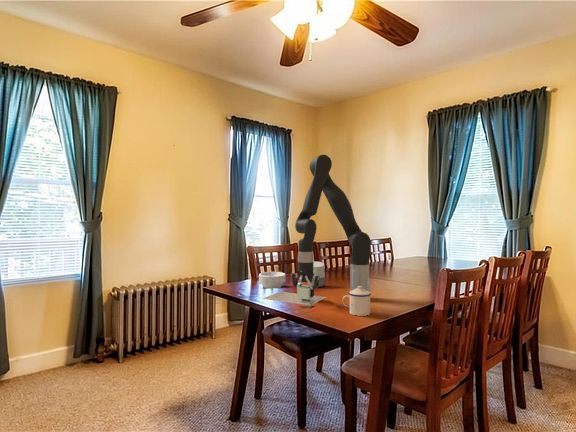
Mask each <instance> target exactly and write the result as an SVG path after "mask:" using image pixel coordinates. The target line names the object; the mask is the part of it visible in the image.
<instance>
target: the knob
mask: <svg viewBox="0 0 576 432" xmlns="http://www.w3.org/2000/svg"><path fill="white" fill-rule="evenodd" d="M310 290H311V289H310V286H309V285H304V284H302V285H301V286H300V287H296V293H297V298H301V299H308V300H309V299H311V298H313V297H314V296H315V295H314V296H313V297H310Z"/></svg>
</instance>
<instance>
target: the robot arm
mask: <svg viewBox="0 0 576 432" xmlns="http://www.w3.org/2000/svg"><path fill="white" fill-rule="evenodd" d="M331 159H332V158H331V157H330V156H328V155H327V154H319V155H317V156H316V157H314V158H313V159H312V160H311V161H310V162H309V171H310V172H311V175H312V177H313V179H312V181H311V183H310V186H309V189H308V190H307V192H306V195H305V198H304V202H303V204H302V205H303V206H302V209H301V211H300V213H299V214H298V216H297V218H296V219H295V220H296V221H295V225H294V226H295V227H294V228H295V231H296V232H297V233H298V234H302V235H303V234H304V235H303V238H300V239H299V240H298V242H297V243H298V244H297V245H298V246H297V249H298V252H297V273H295V272H294V273H292V274H291V278H292V285H293V286H294V287H296V288H297V287H300V286H302V285H303V283H307V286H310V289H311V290H310V297H313V296H315V289H318V288H319V287H318V285H319V279H320V276H319V275H318V276H317V275H314V273H313V271H314V262H315V261H314V241H315V237H316V233H317V223H316V221H315V220H314V219H311V218H312V217H314V216H315V215H317V213H318V210H319V209H318V208H319V204H320V200H321V196H322V193H323V194H324V196H325V199H326V200H327V202H328V204H329V206H330V208H331V210H332V212H333V213H334V216H335V217H336V219H337V220H338V222H339V224H340V225H341V227H342V229H343V231H344V233H345V235H346V238H347V241H348V243H349V245H350V247H351V257H350V259H349V262H350V263H349V268H350V269H349V279H350V280H349V289H350V290H349V292H350V291H351V290H354V289H356V288H357V287H358V286H362V288H363V289H365V290H366V291H369V292H370V293H371V279H370V259H371V253H372V252H371V250H372V249H371V247H372V246H371V245H372V243H371V242H372V241H371V238H370V236H369V234H368V233H367V232H363V231H362V230H361V228H360V226H359V225H358V223H357V221H356V219H355V214H354V211H353V210H354V209H353V208H352V204H351V203H350V201H349V199H348V197H347V195H346V193H345V192H344V191H343V189H341V188H340V187H339V186H338V185H337V184H336V183H335V182H334V181H333V179H332V177H331V175H330V172H331V169H332V167H333V166H332V165H333V163H332V160H331ZM313 277H314V280H315V282H314V284H313V280H312V279H313Z"/></svg>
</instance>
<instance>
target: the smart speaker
mask: <svg viewBox="0 0 576 432" xmlns="http://www.w3.org/2000/svg"><path fill="white" fill-rule="evenodd" d="M313 273H314V275H317V276H318V275H319V276H320V279H319V285H318V288H322V287H324V285H325V282H326V274H325V263H324V262H321V261H314V271H313ZM312 280H313V284H314V282H315V280H314V277H313V279H312Z"/></svg>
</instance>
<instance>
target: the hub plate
mask: <svg viewBox="0 0 576 432" xmlns="http://www.w3.org/2000/svg"><path fill="white" fill-rule="evenodd" d="M327 298H328V297H327V296H320V295H314V297H313V298H311V299H309V300H308V299H301V298H297V292H296V293H294V292H287V291H279V292H276V293H273V294H270V295H268V296H265V297H263V298H261V299H262V300H269V301H273V302H274V301H276V302H283V303H289V304H297V305H300V308H302V309H312V308H315V307H316V305H315V304H316V303H318V302H320V301H322V300H324V299H327ZM301 305H304V306H301Z"/></svg>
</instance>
